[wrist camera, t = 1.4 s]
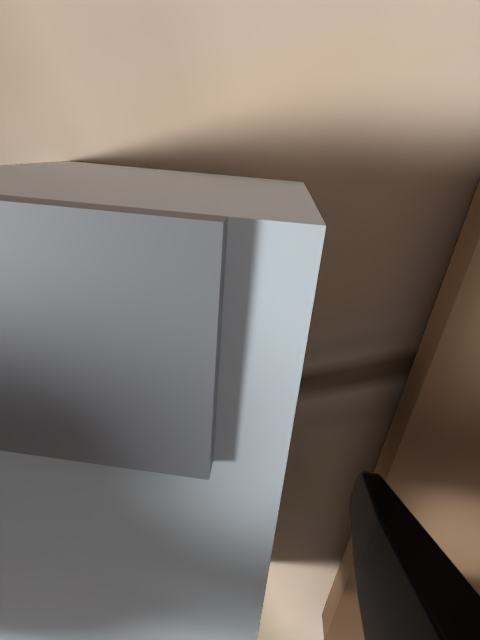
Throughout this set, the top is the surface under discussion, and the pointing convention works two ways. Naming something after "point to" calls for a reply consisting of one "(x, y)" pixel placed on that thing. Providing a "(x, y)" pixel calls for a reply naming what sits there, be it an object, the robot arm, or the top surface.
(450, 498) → the jig
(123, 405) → the pale blue slab
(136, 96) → the top surface
